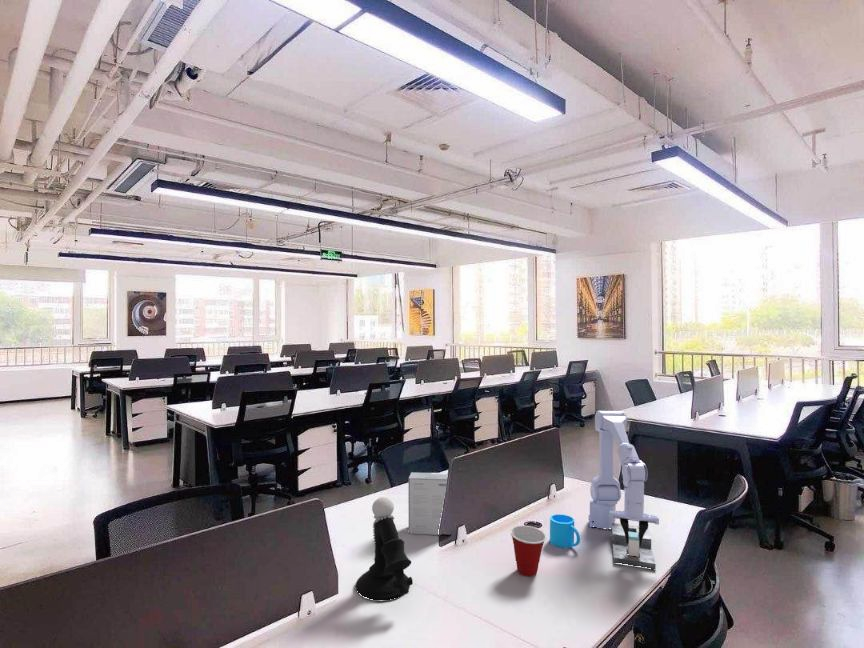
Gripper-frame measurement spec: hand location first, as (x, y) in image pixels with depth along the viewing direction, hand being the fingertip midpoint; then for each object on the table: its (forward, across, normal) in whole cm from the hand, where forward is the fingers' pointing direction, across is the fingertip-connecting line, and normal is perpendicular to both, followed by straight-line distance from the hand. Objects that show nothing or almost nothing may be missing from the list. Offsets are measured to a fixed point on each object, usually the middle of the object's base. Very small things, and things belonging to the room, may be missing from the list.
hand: (633, 543), depth 158 cm
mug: (+6, -21, +4) cm, 22 cm away
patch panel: (+5, 0, +6) cm, 8 cm away
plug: (+3, 0, 0) cm, 3 cm away
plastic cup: (+6, -31, -19) cm, 37 cm away
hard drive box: (+6, -68, -1) cm, 68 cm away
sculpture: (+6, -66, -44) cm, 80 cm away
